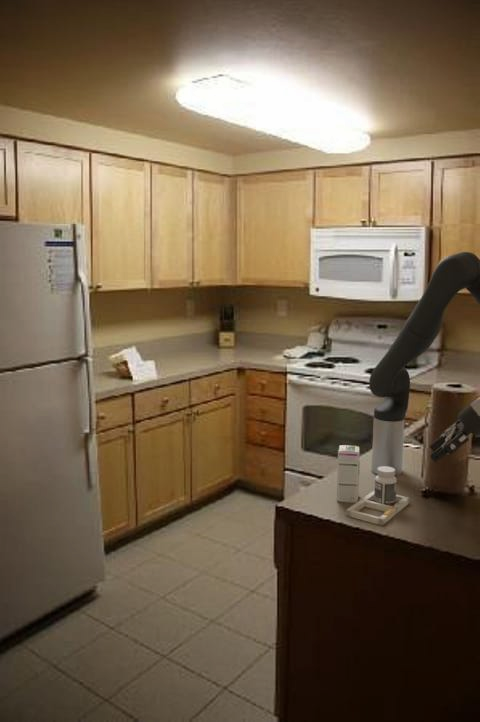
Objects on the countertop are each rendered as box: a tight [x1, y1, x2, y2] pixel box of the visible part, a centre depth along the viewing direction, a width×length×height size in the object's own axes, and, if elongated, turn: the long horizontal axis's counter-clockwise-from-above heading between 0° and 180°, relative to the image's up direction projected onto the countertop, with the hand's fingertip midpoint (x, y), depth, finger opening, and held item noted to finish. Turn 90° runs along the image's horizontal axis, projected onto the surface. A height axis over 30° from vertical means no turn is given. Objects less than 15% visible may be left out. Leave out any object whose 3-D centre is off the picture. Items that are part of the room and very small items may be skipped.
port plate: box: [345, 489, 410, 526], centre depth 166 cm, size 18×10×2 cm, turn 144°
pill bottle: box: [373, 466, 398, 506], centre depth 169 cm, size 6×6×10 cm
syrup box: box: [336, 444, 361, 504], centre depth 172 cm, size 6×6×14 cm
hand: (432, 454), depth 164 cm, fingers open, 8 cm apart
